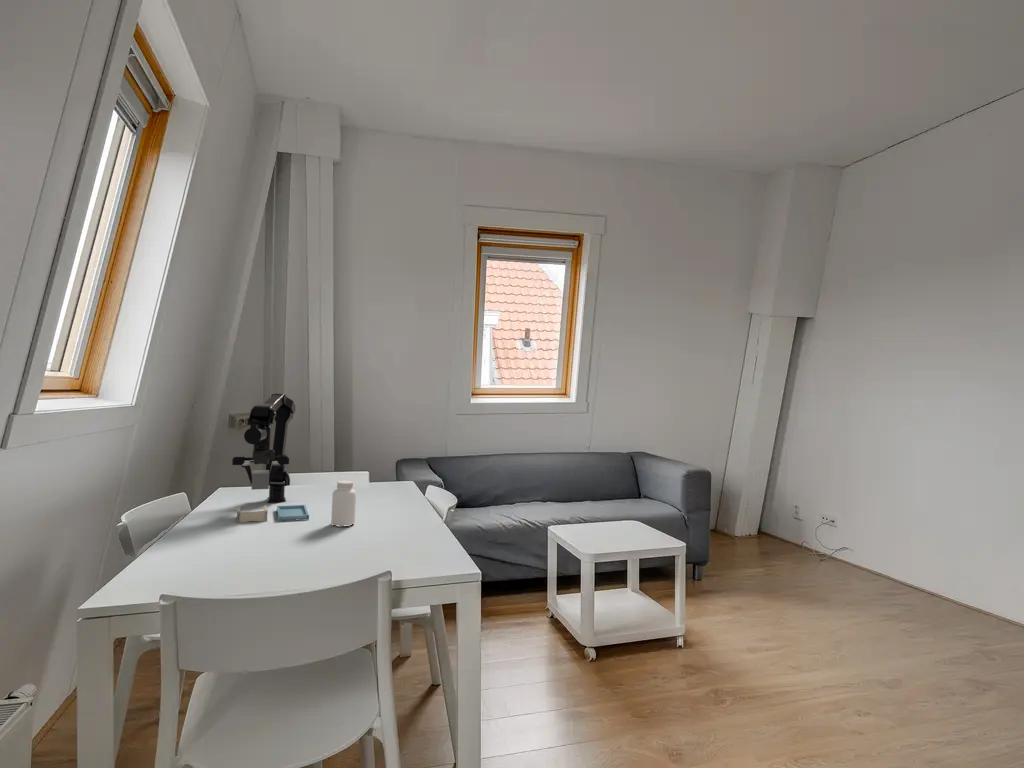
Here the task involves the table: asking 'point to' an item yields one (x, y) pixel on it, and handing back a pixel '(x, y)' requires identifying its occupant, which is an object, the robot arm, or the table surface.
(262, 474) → the grey rectangular block
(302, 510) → the tray
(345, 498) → the pill bottle
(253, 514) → the bay
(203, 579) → the table surface
